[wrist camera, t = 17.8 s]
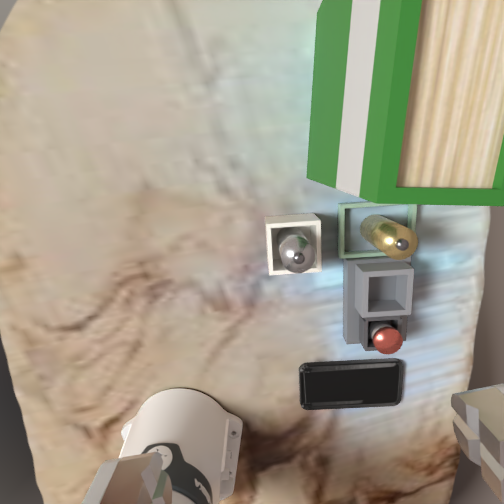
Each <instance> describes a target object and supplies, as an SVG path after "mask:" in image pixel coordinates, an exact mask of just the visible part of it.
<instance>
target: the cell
mask: <svg viewBox="0 0 504 504" xmlns="http://www.w3.org/2000/svg"><path fill="white" fill-rule="evenodd" d="M360 233H361V235H362V237H363V238H364V239H365V240H366V241H368V242H369V243H371V244H372V245H373V246H375V247H376V248H378V249H379V250H380V251H382V252H383V253H384V254H386V255H387V256H389V257H390V258H392V259H395V260H403V259H406V258H408V257H410V256H411V255H412V254H413V253H414V252H415V250H416V248H417V245H418V238H417V235H416V234H415V232H414V231H413V230H411V229H409V228H407V227H405V226H403V225H400V224H398V223H396V222H394V221H392V220H389V219H387V218H385V217H383V216H380V215H370V216H368V217H367V218H365V219H364V220H363V222H362V223H361V226H360Z"/></svg>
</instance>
